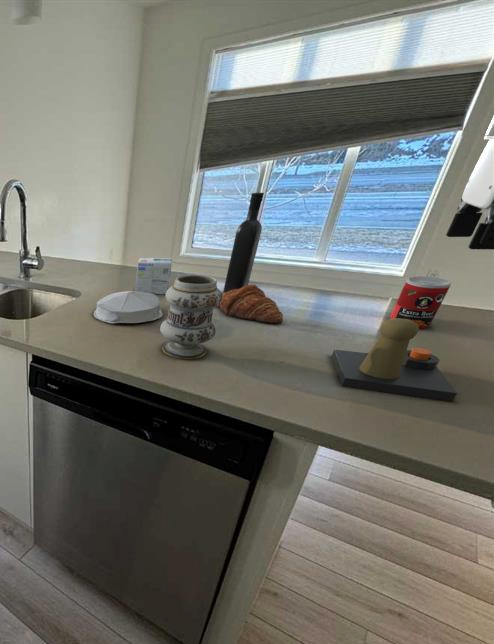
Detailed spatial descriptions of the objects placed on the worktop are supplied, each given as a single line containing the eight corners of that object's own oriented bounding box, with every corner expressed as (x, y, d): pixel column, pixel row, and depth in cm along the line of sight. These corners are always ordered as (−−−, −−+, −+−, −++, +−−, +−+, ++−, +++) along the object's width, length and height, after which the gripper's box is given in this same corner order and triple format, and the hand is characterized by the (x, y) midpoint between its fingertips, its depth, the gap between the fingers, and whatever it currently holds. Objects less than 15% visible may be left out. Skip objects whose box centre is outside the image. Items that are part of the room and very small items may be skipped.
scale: (426, 367, 85) (434, 352, 83) (452, 401, 74) (462, 385, 72) (330, 356, 92) (336, 342, 90) (341, 386, 81) (348, 370, 80)
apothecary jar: (190, 337, 106) (203, 269, 97) (221, 357, 96) (240, 282, 87) (148, 344, 105) (157, 275, 96) (174, 364, 94) (188, 289, 85)
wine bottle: (221, 295, 131) (243, 194, 116) (228, 290, 134) (250, 191, 119) (240, 298, 128) (265, 194, 113) (246, 293, 131) (272, 191, 116)
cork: (355, 362, 85) (377, 313, 79) (393, 366, 82) (418, 316, 77) (364, 376, 80) (387, 324, 75) (404, 381, 78) (431, 328, 72)
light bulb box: (168, 288, 141) (173, 257, 135) (167, 295, 135) (172, 262, 130) (136, 287, 145) (139, 257, 139) (133, 293, 140) (137, 261, 134)
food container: (155, 330, 112) (159, 306, 109) (85, 321, 121) (86, 300, 118) (167, 306, 127) (170, 285, 123) (103, 300, 136) (105, 280, 132)
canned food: (390, 326, 102) (409, 283, 97) (386, 315, 108) (404, 275, 102) (432, 331, 98) (455, 287, 93) (426, 320, 104) (447, 277, 98)
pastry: (276, 306, 119) (284, 280, 115) (282, 325, 108) (291, 296, 104) (212, 302, 127) (218, 276, 123) (211, 319, 115) (217, 292, 111)
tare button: (425, 355, 83) (429, 349, 82) (430, 361, 81) (433, 354, 80) (407, 354, 84) (410, 347, 83) (411, 359, 82) (414, 352, 81)
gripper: (602, 122, 53) (528, 254, 62) (532, 122, 66) (478, 232, 74) (518, 129, 56) (458, 254, 65) (467, 128, 69) (422, 232, 78)
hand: (469, 242), depth 70 cm, fingers open, 9 cm apart
